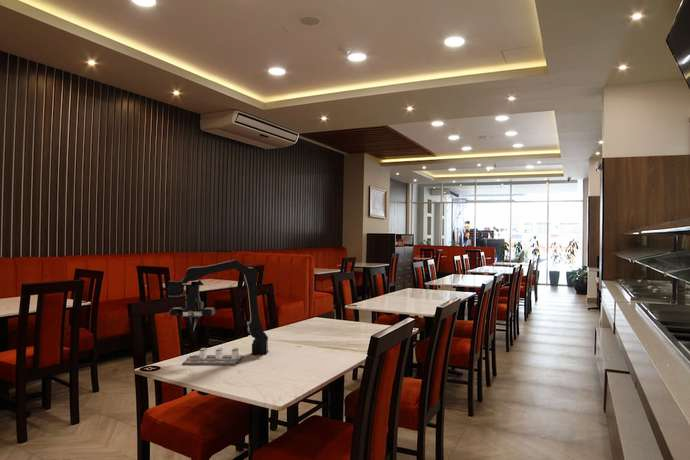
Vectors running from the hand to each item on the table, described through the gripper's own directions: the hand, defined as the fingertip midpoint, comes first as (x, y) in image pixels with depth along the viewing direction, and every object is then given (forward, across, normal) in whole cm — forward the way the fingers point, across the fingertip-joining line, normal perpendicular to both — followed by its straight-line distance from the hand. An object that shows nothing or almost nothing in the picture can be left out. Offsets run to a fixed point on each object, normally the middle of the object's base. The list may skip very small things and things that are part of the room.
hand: (192, 331), depth 202 cm
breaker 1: (+12, -6, +4) cm, 14 cm away
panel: (+12, -11, +4) cm, 17 cm away
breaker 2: (+12, -13, +4) cm, 18 cm away
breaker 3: (+12, -20, +4) cm, 24 cm away
